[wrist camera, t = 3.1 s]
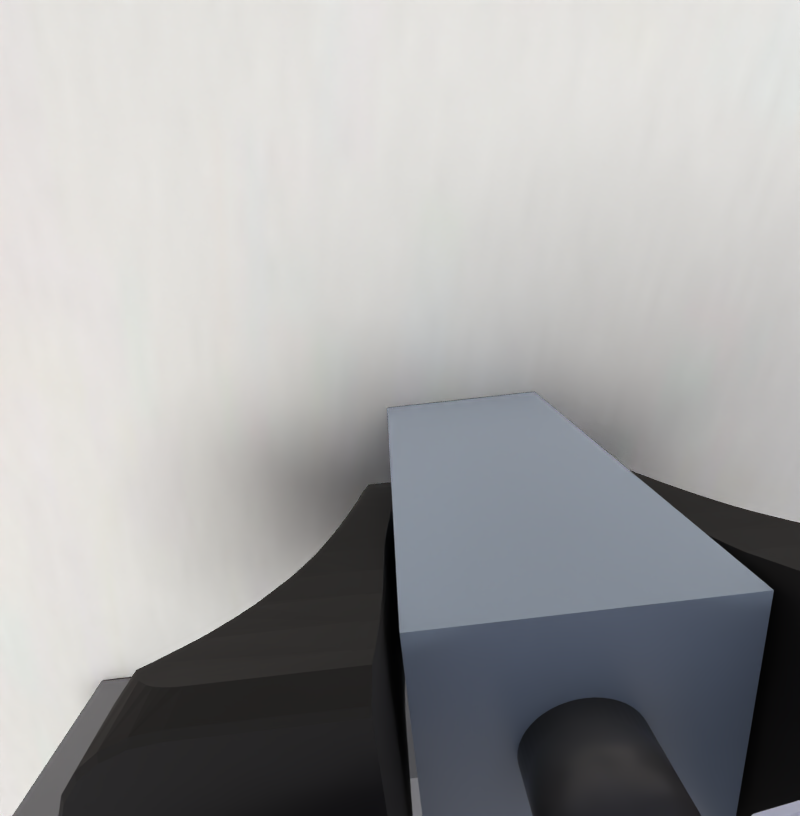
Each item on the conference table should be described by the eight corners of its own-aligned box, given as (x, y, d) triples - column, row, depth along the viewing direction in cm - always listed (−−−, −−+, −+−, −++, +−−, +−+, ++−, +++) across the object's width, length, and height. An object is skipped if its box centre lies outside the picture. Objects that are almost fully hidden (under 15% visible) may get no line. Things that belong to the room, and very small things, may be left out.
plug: (534, 391, 13) (867, 667, 4) (536, 521, 14) (797, 948, 5) (386, 408, 13) (404, 722, 4) (402, 536, 14) (439, 991, 5)
